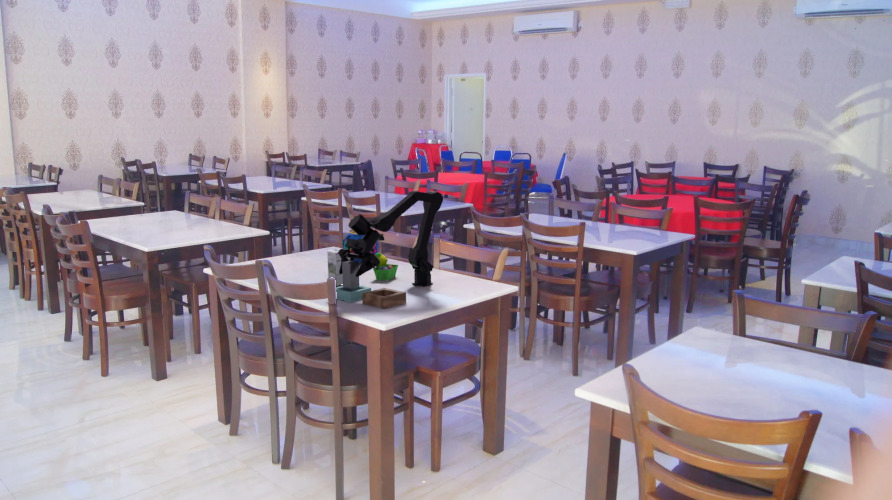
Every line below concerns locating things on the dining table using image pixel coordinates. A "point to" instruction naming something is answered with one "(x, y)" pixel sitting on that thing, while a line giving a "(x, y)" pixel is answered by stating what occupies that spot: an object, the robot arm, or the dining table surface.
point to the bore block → (384, 298)
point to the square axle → (350, 275)
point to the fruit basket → (384, 269)
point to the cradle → (351, 294)
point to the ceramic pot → (355, 236)
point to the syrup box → (334, 266)
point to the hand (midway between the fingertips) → (348, 275)
